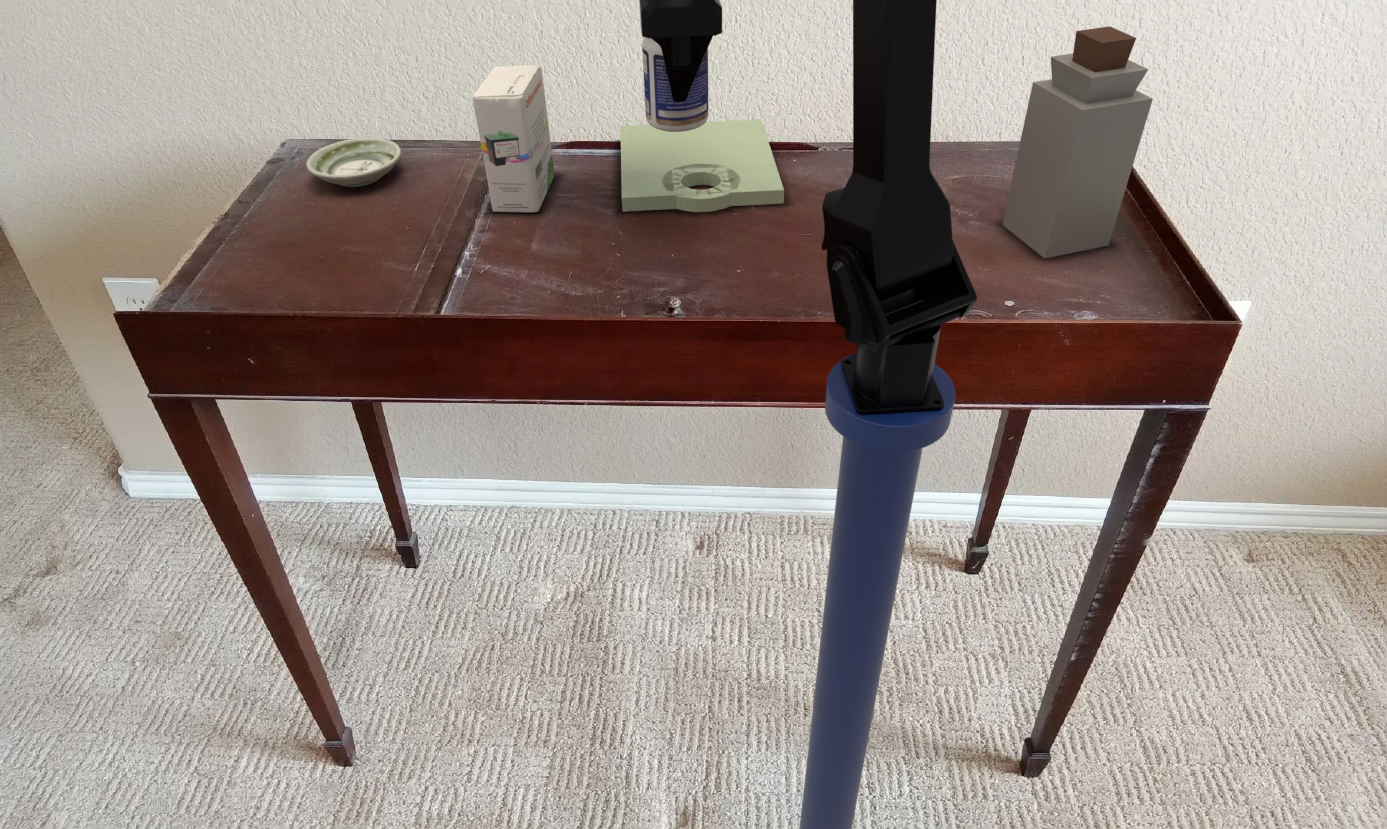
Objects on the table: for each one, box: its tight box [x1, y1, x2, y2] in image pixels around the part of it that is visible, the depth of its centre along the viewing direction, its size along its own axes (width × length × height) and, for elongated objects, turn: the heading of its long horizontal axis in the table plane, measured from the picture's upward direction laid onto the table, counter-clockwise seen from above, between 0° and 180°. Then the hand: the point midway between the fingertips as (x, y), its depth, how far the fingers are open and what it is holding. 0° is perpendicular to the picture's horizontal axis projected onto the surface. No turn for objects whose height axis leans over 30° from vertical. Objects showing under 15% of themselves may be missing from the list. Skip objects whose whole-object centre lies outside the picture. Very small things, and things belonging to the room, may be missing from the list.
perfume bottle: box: [1001, 25, 1154, 259], centre depth 79 cm, size 7×7×18 cm
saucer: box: [305, 137, 402, 188], centre depth 97 cm, size 10×10×2 cm
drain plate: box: [619, 119, 785, 213], centre depth 97 cm, size 19×16×2 cm
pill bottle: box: [641, 37, 709, 132], centre depth 80 cm, size 6×6×10 cm
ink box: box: [472, 64, 555, 213], centre depth 90 cm, size 8×5×12 cm, turn 175°
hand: (677, 88), depth 82 cm, fingers closed on pill bottle, 6 cm apart
